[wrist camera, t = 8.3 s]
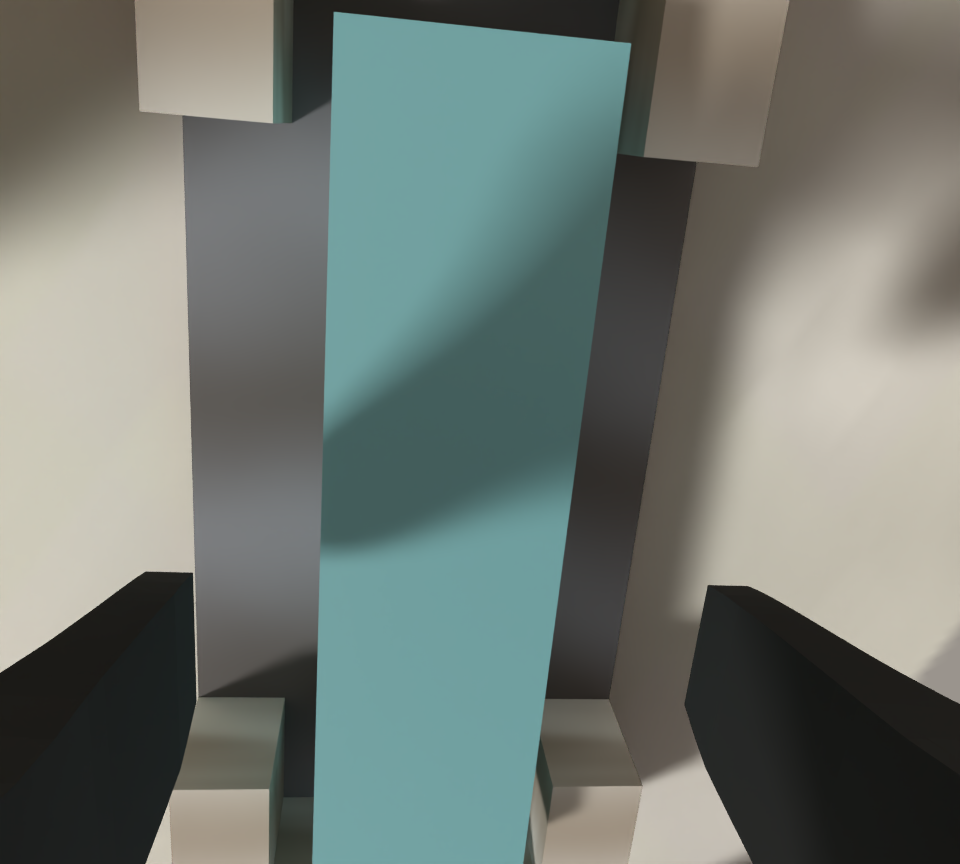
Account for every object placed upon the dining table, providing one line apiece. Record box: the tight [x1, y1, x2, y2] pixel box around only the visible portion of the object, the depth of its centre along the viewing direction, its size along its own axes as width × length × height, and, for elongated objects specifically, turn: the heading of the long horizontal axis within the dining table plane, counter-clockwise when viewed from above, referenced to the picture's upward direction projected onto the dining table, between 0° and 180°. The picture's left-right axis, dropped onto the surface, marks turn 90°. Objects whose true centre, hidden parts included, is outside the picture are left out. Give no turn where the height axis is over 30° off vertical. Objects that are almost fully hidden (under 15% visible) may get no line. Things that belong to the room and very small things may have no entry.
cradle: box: [135, 0, 790, 864], centre depth 18 cm, size 22×10×4 cm, turn 175°
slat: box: [312, 12, 631, 864], centre depth 16 cm, size 16×4×5 cm, turn 175°
